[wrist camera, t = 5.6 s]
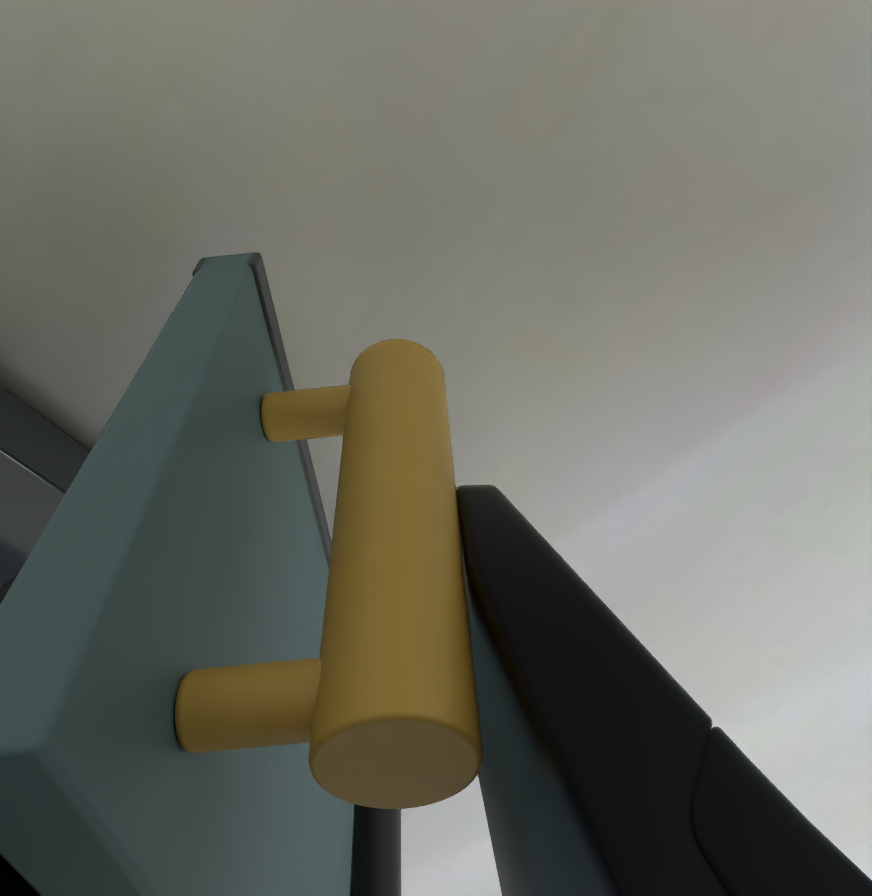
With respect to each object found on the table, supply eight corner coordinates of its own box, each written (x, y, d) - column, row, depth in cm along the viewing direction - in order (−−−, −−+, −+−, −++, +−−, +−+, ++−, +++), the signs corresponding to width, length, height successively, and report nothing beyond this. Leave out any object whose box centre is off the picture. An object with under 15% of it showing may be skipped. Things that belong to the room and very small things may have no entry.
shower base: (371, 653, 16) (369, 702, 15) (98, 805, 20) (81, 854, 19) (-99, 310, 11) (-151, 350, 10) (-364, 599, 14) (-423, 651, 13)
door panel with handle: (473, 677, 14) (519, 1138, 9) (329, 691, 14) (287, 1157, 9) (430, 232, 9) (478, 708, 4) (199, 256, 9) (-109, 762, 4)
